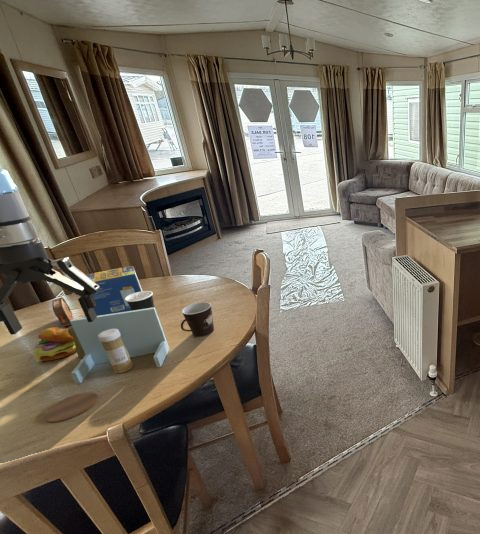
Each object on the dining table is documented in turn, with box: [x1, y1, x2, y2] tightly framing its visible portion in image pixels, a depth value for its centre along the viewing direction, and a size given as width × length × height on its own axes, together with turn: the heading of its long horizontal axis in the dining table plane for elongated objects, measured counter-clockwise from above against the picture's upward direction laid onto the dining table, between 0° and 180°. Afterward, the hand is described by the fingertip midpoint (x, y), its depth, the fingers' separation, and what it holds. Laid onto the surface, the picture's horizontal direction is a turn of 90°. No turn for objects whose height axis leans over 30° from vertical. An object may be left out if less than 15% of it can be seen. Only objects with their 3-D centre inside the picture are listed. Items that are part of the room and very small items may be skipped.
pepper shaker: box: [68, 325, 86, 360], centre depth 108 cm, size 6×6×11 cm
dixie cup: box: [125, 290, 155, 311], centre depth 126 cm, size 8×8×11 cm
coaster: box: [43, 391, 99, 423], centre depth 90 cm, size 10×10×1 cm
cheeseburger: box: [34, 326, 77, 363], centre depth 109 cm, size 10×11×10 cm
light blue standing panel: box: [70, 306, 170, 385], centre depth 102 cm, size 20×10×16 cm, turn 114°
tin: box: [51, 296, 74, 327], centre depth 125 cm, size 15×3×8 cm, turn 46°
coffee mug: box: [180, 301, 215, 338], centre depth 119 cm, size 12×9×10 cm
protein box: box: [85, 265, 143, 316], centre depth 133 cm, size 10×15×16 cm
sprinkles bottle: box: [98, 329, 134, 374], centre depth 101 cm, size 5×5×13 cm
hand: (56, 325), depth 81 cm, fingers open, 13 cm apart
